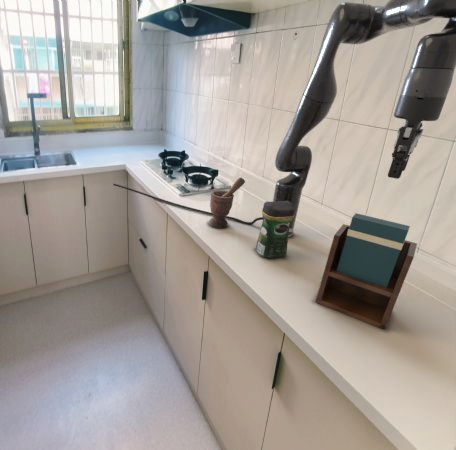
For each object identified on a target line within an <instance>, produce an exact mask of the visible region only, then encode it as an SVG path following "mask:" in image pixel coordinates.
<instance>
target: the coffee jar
mask: <svg viewBox="0 0 456 450" xmlns="http://www.w3.org/2000/svg"><path fill="white" fill-rule="evenodd" d="M294 210H295V207H294V205H293V204H292V203H290V202H289V201H276V202H273V201H265V202H264V203H263V207H262V210H261V215H262V217H263V220H262V222H261V227H260V230H259V234H258V238H257V241H256V244H255V251H256V253H257V254H258V255H259V256H261V257H262V258H265V259H277V258H278V259H279V258H284V257H286V256H287V254H288V253H287V252H288V243H289V237H288V234H289V227H290V223H291V221H292V219H293V217H294Z"/></svg>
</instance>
